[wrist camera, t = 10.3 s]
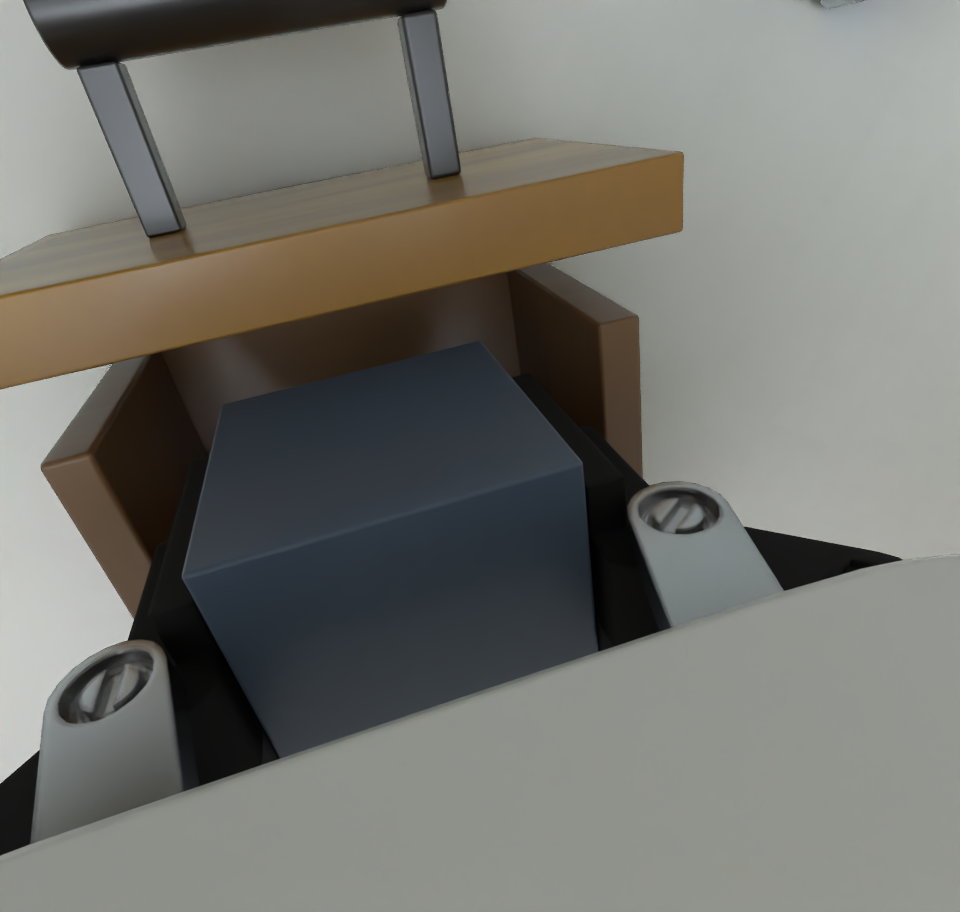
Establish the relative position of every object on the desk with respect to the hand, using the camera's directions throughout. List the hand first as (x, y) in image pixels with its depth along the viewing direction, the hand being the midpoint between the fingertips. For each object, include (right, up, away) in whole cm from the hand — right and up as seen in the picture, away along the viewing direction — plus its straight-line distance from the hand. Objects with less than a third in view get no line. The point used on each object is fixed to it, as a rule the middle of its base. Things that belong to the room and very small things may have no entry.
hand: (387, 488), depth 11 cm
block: (0, 0, 0) cm, 0 cm away
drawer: (-2, +3, +5) cm, 6 cm away
